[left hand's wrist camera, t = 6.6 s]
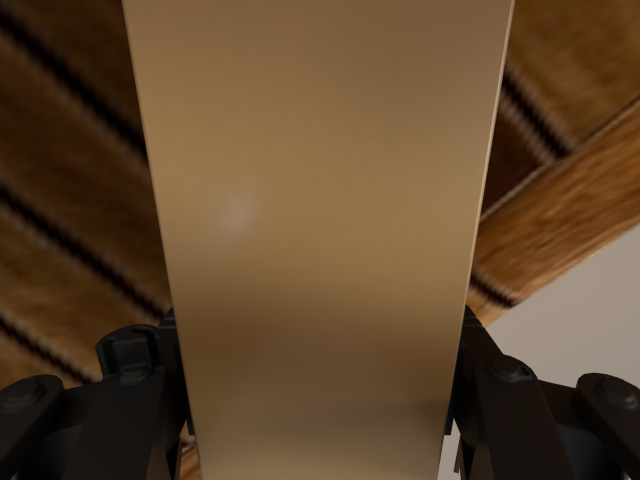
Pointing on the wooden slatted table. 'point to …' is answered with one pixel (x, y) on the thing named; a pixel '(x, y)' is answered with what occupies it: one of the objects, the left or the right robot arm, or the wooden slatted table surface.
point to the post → (318, 219)
